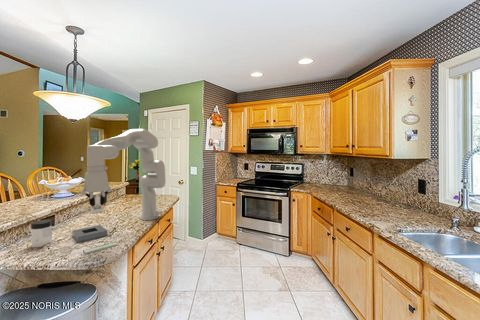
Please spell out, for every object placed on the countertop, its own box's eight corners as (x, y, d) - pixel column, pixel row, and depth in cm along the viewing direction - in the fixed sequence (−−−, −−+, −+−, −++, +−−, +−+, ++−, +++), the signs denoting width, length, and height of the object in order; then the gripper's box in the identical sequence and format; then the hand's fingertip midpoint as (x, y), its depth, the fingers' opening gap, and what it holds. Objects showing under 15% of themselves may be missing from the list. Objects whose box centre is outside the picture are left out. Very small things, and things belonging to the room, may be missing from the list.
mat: (109, 239, 127) (109, 237, 127) (117, 245, 119) (117, 244, 119) (79, 246, 117) (79, 245, 117) (85, 254, 109) (85, 252, 109)
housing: (100, 231, 140) (100, 224, 140) (107, 237, 130) (107, 230, 130) (72, 237, 130) (72, 230, 130) (77, 244, 120) (77, 237, 120)
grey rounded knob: (102, 210, 122) (101, 193, 121) (105, 212, 118) (104, 194, 117) (89, 212, 118) (89, 194, 117) (92, 214, 114) (91, 196, 113)
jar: (26, 248, 116) (25, 224, 115) (37, 242, 124) (36, 220, 123) (47, 246, 118) (46, 223, 117) (56, 240, 126) (55, 218, 125)
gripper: (111, 168, 125) (112, 201, 126) (74, 170, 114) (76, 206, 114) (116, 168, 120) (117, 203, 121) (78, 170, 108) (79, 209, 109)
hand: (97, 204), depth 117 cm, fingers closed on grey rounded knob, 3 cm apart
